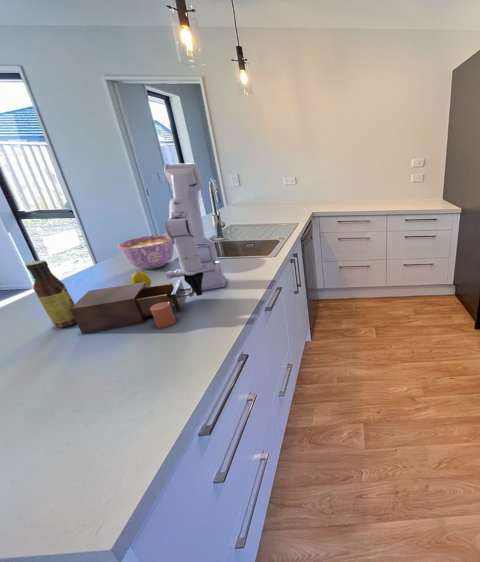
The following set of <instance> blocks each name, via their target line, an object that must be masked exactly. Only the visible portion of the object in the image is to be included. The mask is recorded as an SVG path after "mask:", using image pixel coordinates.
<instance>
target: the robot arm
mask: <svg viewBox="0 0 480 562" xmlns="http://www.w3.org/2000/svg"><path fill="white" fill-rule="evenodd" d="M163 172H164V176H165V178H166V180H167V182H168V183H169V185H170V186H171V187H172V196H173V198H171V199H170V200H169V208H168V220H166V221H165V223H164V226H165V227H164V228H165V231H166V235H168V236H169V238H170V240H171V243H172V244H173V247H174V250H175V253H176V256H177V259H178V262H179V265H180V268H178V269H173V270H169V271H166V272H165V276H166V279H167V280H171V279H175V278H180V277H183V280H184V282H185V283H186V284H187V285H188V286H189V287H190V288H191V287H192V288H193V290H194V291H195V292H194V294H195V295H196V297H197V296H202V295H203V291H207V290H212V289H218V288H224V287H225V286H226V275H225V273H224V269H223V265H222V262H221V261H217V260H218V251H217V248H216V244H215V242H214V241H213V240H212V239H210V238H208V237H206V235H205V231H204V230H205V229H204V223H203V217H202V212H201V205H200V200H199V192H200V191H201V190H203V179H202V175H201V174H202V173H201V169H200V167H199V165H198V164H197V163H196V162H193V163H192V162H190V163H189V162H187V163H165V164H164V165H163Z"/></svg>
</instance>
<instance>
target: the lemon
mask: <svg viewBox="0 0 480 562" xmlns="http://www.w3.org/2000/svg"><path fill="white" fill-rule="evenodd" d="M130 280H131V284H137V283H144V282H145V284H146V286H147V287H149V286H152V280H151V277H150V276H149V275H148V273H147V272H144V271H139V270H136V272H134V273H133V274H132V275H131V277H130Z"/></svg>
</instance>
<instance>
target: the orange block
mask: <svg viewBox="0 0 480 562" xmlns="http://www.w3.org/2000/svg"><path fill="white" fill-rule="evenodd" d="M150 310H151V313H152V315H151V316H152V318H153V321H154V323H155V326H156V328H159V329H164V328H168V327H170V326H173V325H174V324H175V323H176V322H177V320H176V319H177V318H176V317H175V313H174V312H173V311H174V310H172V308H171V305H170V303H169V302H161V303H157V304H155V305H153V306H151V307H150Z"/></svg>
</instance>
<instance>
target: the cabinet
mask: <svg viewBox="0 0 480 562" xmlns="http://www.w3.org/2000/svg"><path fill="white" fill-rule="evenodd" d="M144 287H147V286H146V284H145V282H144V283H137V284H132V283H131V284H123V285H118V286H110V287H103V288H98V289H89V290H88V291H87V292H86V293H85V294H84V295H83V296H82V297H81V298H80V299H79V300H78V301H76V303H74V304H75V305H74V306H72V307H71V308H70V310H71V312H72V314H73V316H74V318H75V320H76V322H77V323H76V324H77V326H78V328H79V330H80V333H81V335H83V334H88V333H89V334H90V333H94V332H101V331H106V330H111V329H116V328H121V327H127V326H131V325H136V324H142V323H144V322H145V320H146V318H147V316H144V317H142V315H141V313H140V310H139V308H138V305H137V303H136V298H137V297H138V295H139V294H140V292H141V291H142V290H143V288H144Z"/></svg>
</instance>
